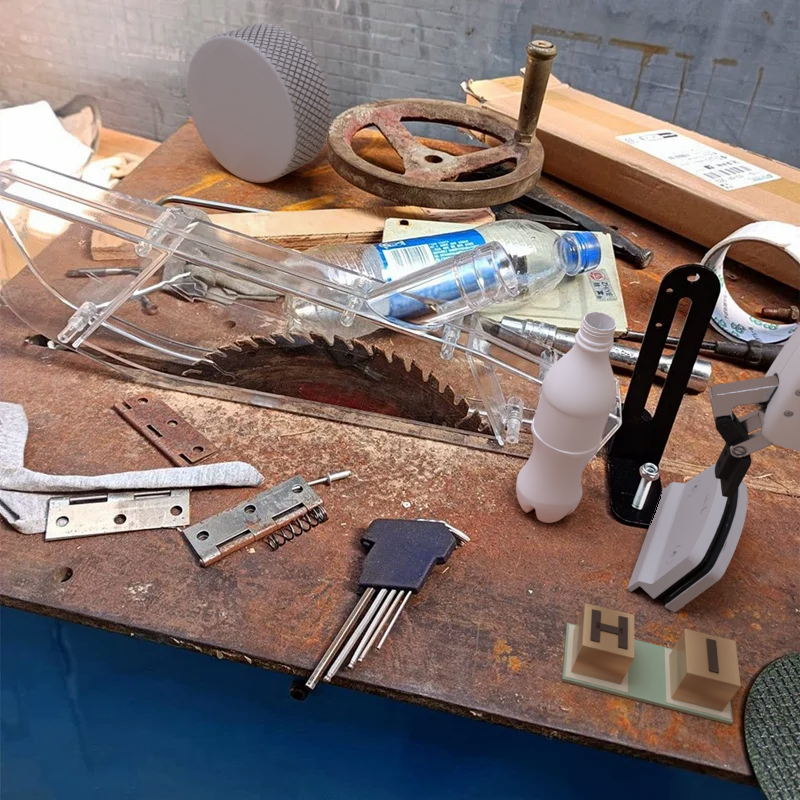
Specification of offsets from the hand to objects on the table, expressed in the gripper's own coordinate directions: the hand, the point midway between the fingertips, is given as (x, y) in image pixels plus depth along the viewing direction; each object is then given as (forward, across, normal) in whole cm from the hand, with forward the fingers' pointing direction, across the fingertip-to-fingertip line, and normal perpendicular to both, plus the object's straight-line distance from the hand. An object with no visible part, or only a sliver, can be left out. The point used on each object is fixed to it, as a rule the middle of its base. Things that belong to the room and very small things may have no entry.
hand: (790, 498), depth 57 cm
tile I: (+22, 0, +3) cm, 22 cm away
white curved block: (+22, 0, -13) cm, 26 cm away
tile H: (+22, +9, +3) cm, 24 cm away
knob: (+22, +76, -83) cm, 114 cm away
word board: (+22, +4, +3) cm, 23 cm away
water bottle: (+22, +16, -15) cm, 31 cm away
